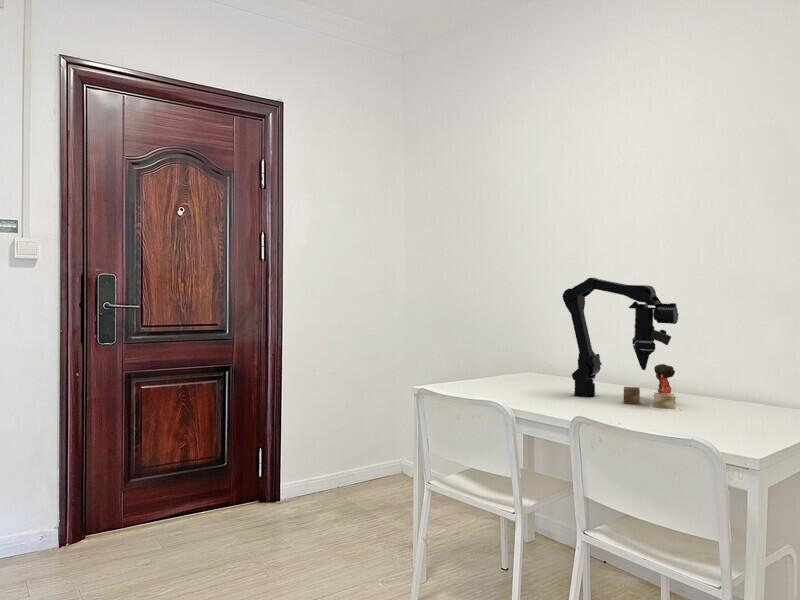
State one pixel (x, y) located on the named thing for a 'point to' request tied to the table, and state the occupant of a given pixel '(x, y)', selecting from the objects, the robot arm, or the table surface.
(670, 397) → the oak base block
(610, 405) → the table surface
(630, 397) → the walnut cube
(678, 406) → the mat
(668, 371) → the figurine
